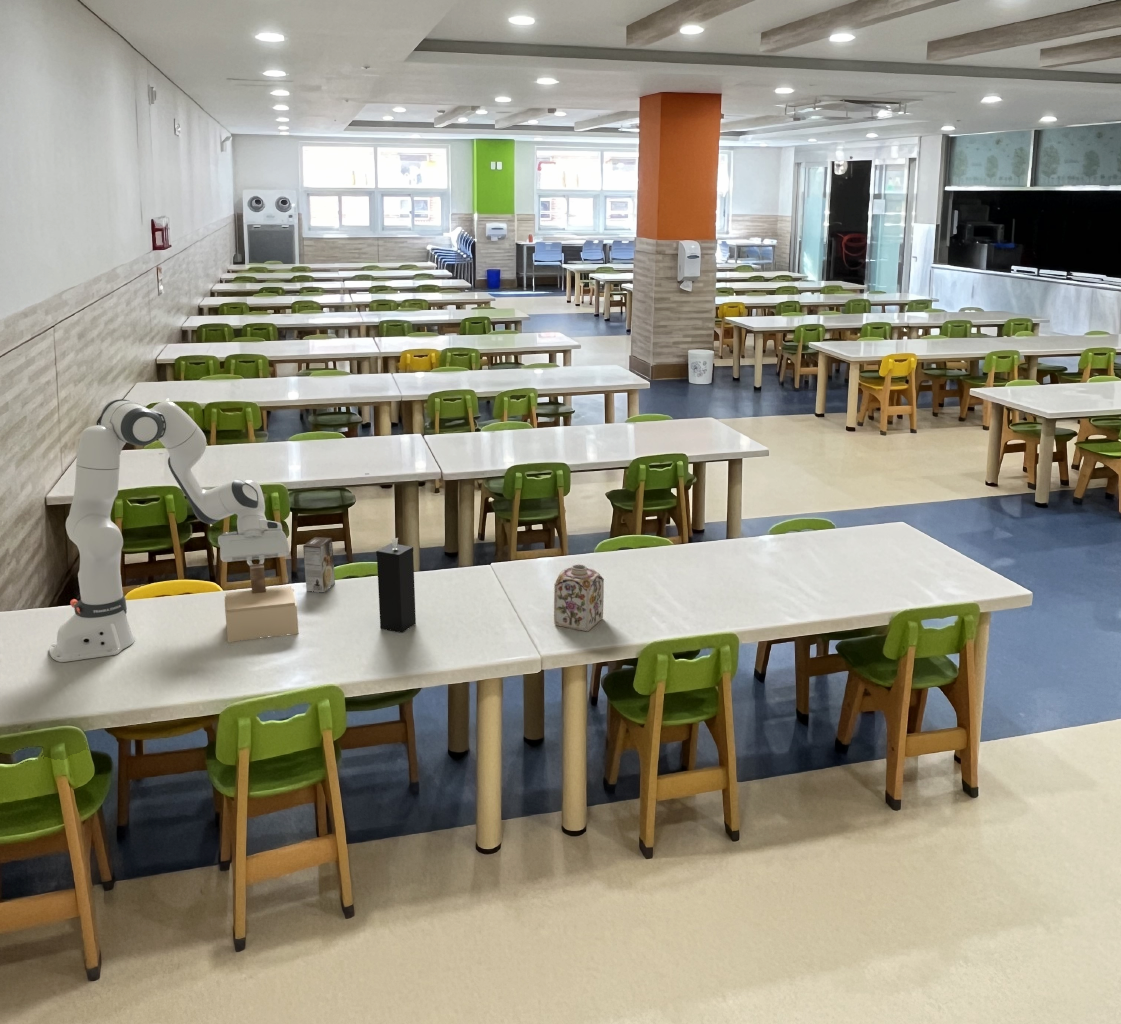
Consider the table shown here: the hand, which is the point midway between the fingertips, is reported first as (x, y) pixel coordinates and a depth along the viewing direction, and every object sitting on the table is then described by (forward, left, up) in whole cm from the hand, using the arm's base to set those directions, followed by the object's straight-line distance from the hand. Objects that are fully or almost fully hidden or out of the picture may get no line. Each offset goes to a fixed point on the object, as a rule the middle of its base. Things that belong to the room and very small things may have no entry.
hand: (256, 570), depth 325 cm
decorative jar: (+81, -55, -15) cm, 99 cm away
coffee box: (+25, +14, -15) cm, 33 cm away
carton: (-2, -9, -15) cm, 18 cm away
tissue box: (+33, -29, -15) cm, 46 cm away
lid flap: (-2, -9, -6) cm, 11 cm away
